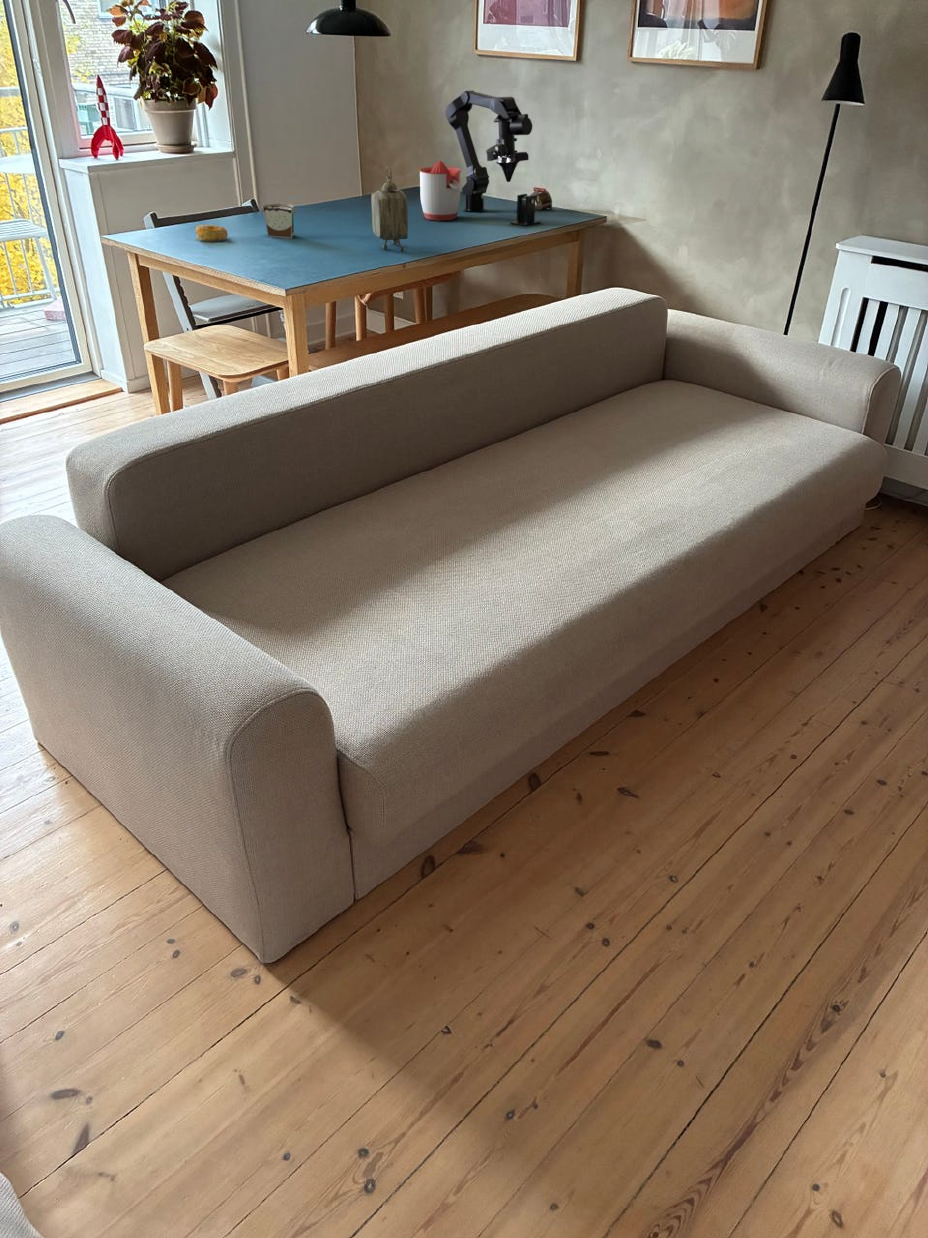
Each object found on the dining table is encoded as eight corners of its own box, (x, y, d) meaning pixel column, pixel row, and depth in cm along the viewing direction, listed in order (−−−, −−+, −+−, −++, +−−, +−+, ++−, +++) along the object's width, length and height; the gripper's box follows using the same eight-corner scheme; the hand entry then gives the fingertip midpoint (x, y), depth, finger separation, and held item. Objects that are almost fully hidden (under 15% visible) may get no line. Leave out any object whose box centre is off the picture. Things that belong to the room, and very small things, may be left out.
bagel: (218, 243, 322) (216, 228, 319) (190, 240, 325) (188, 226, 322) (234, 237, 330) (232, 223, 327) (207, 235, 333) (205, 220, 330)
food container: (303, 235, 334) (301, 204, 328) (295, 238, 329) (293, 207, 324) (272, 232, 337) (269, 202, 332) (264, 235, 332) (261, 205, 327)
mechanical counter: (555, 198, 368) (554, 188, 375) (522, 194, 367) (522, 184, 374) (552, 216, 373) (551, 206, 380) (519, 213, 372) (520, 202, 379)
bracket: (525, 222, 356) (526, 192, 350) (540, 224, 352) (541, 194, 346) (510, 225, 350) (511, 195, 344) (524, 228, 346) (526, 197, 340)
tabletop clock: (408, 252, 311) (406, 169, 297) (381, 254, 309) (378, 170, 295) (398, 243, 323) (396, 163, 309) (372, 245, 321) (368, 164, 307)
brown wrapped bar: (536, 191, 352) (534, 184, 350) (546, 192, 349) (545, 186, 347) (519, 204, 348) (518, 198, 346) (529, 206, 345) (528, 199, 343)
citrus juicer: (440, 224, 350) (440, 165, 339) (411, 217, 361) (410, 160, 350) (472, 219, 359) (473, 161, 348) (442, 212, 370) (442, 156, 359)
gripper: (474, 137, 353) (476, 183, 361) (504, 137, 339) (506, 184, 347) (498, 134, 358) (500, 179, 366) (528, 134, 344) (530, 181, 352)
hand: (508, 181), depth 358 cm, fingers closed
